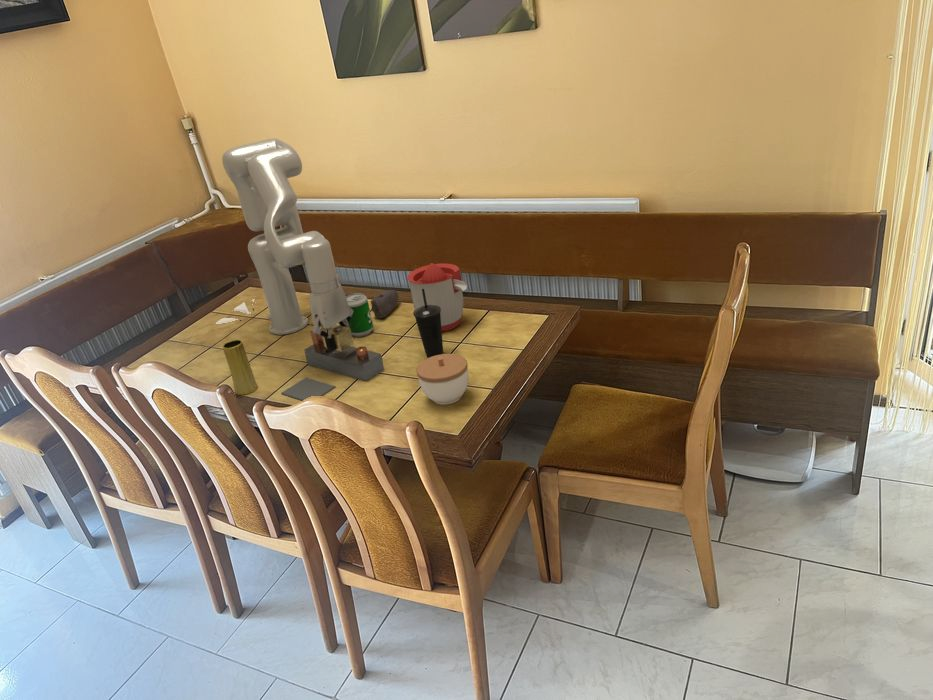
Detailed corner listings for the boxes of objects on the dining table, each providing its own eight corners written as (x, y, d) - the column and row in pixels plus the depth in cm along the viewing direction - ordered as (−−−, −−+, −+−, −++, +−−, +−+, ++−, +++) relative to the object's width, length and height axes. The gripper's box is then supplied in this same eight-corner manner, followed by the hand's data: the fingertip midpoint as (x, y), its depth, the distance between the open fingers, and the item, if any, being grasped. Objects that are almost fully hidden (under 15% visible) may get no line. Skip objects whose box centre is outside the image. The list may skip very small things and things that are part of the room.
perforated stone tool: (392, 302, 243) (388, 283, 240) (406, 302, 241) (402, 283, 237) (369, 321, 231) (364, 301, 228) (383, 322, 229) (378, 302, 226)
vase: (238, 385, 203) (223, 340, 197) (259, 382, 203) (245, 337, 197) (233, 396, 198) (218, 350, 191) (255, 393, 198) (241, 346, 191)
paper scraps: (222, 335, 240) (220, 329, 239) (195, 331, 247) (193, 325, 246) (277, 303, 259) (276, 298, 258) (250, 300, 266) (249, 294, 265)
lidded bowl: (414, 408, 178) (406, 369, 173) (434, 383, 188) (427, 345, 183) (461, 412, 173) (454, 372, 168) (479, 386, 184) (473, 347, 179)
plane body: (308, 365, 209) (299, 334, 204) (325, 354, 213) (317, 324, 209) (366, 381, 195) (359, 348, 190) (384, 369, 199) (377, 337, 195)
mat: (281, 394, 195) (281, 392, 195) (306, 378, 201) (305, 377, 201) (310, 403, 188) (310, 402, 188) (335, 387, 194) (335, 386, 194)
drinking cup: (452, 348, 205) (441, 283, 196) (442, 361, 198) (430, 294, 190) (427, 348, 207) (415, 283, 199) (417, 360, 201) (404, 294, 192)
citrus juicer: (462, 337, 211) (452, 273, 202) (408, 335, 217) (396, 273, 208) (479, 314, 224) (470, 253, 215) (428, 313, 230) (418, 254, 221)
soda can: (369, 337, 220) (361, 301, 214) (346, 338, 222) (338, 302, 216) (377, 326, 226) (369, 291, 221) (355, 327, 228) (346, 292, 223)
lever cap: (324, 346, 202) (320, 328, 199) (337, 339, 205) (332, 321, 202) (341, 351, 198) (337, 332, 195) (353, 343, 201) (349, 325, 198)
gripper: (337, 271, 201) (351, 329, 209) (291, 295, 189) (307, 355, 198) (356, 274, 196) (369, 334, 205) (310, 299, 185) (326, 361, 193)
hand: (338, 344), depth 201 cm, fingers closed on lever cap, 4 cm apart
